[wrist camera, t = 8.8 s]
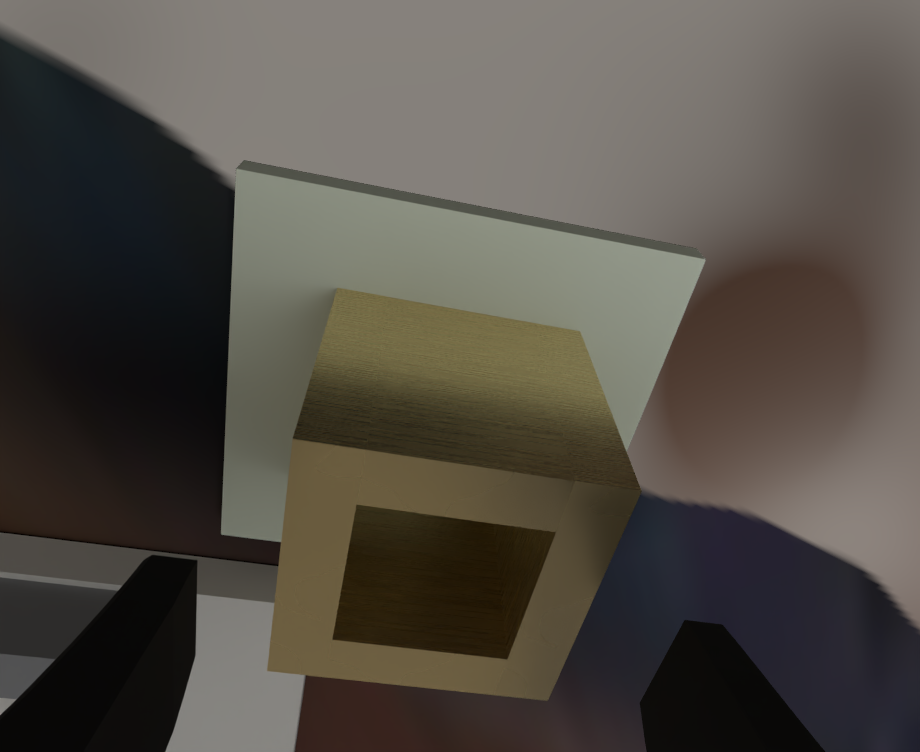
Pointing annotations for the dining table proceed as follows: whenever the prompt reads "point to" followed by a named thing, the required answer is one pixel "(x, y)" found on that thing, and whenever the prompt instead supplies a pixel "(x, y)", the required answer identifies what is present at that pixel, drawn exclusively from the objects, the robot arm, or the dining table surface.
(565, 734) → the dining table surface
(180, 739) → the block
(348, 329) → the brass collar
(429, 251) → the sage mat
